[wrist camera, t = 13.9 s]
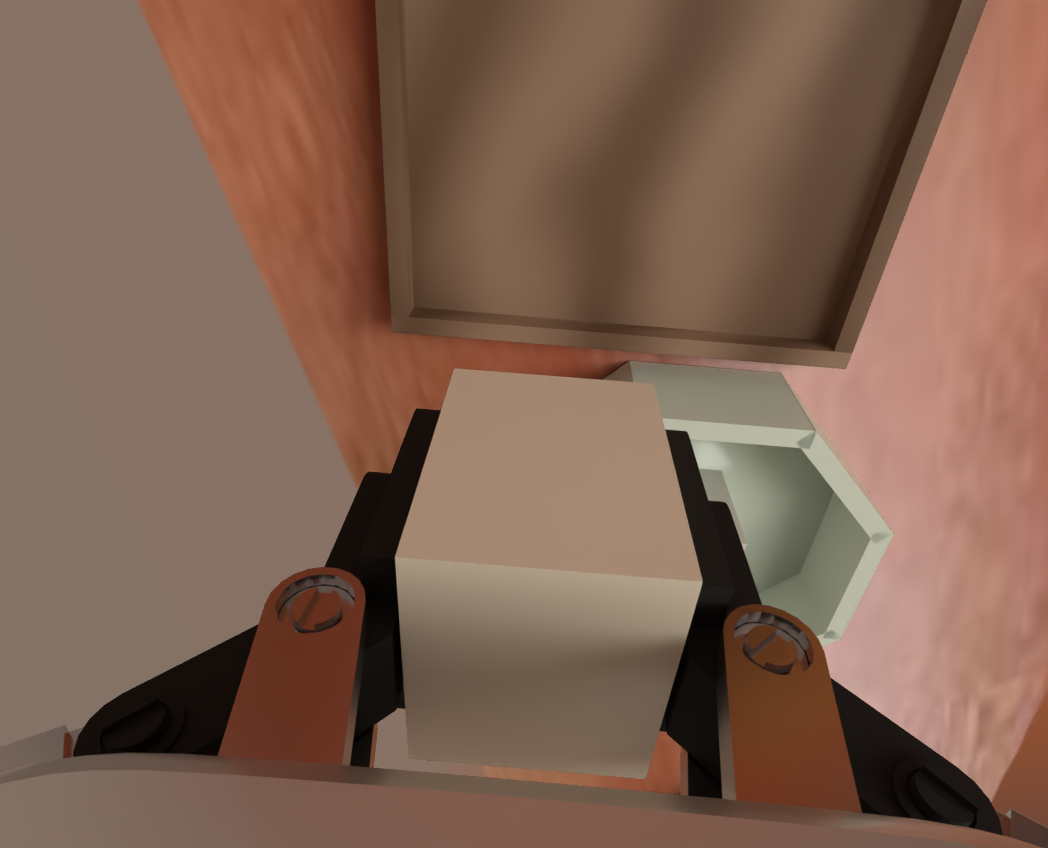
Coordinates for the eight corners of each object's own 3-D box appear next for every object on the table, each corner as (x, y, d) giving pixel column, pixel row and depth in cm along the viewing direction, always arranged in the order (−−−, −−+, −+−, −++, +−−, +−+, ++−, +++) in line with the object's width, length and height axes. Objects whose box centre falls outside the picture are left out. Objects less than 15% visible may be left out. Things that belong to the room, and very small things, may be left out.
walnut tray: (985, -74, 19) (1017, -81, 18) (831, 351, 27) (846, 369, 25) (381, -120, 19) (368, -131, 18) (400, 315, 27) (391, 332, 25)
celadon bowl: (888, 381, 27) (941, 440, 23) (783, 626, 36) (810, 699, 32) (522, 351, 27) (516, 406, 23) (504, 603, 36) (497, 673, 32)
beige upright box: (653, 383, 11) (702, 582, 7) (620, 555, 14) (645, 779, 10) (454, 368, 12) (394, 557, 7) (454, 541, 14) (408, 758, 10)
